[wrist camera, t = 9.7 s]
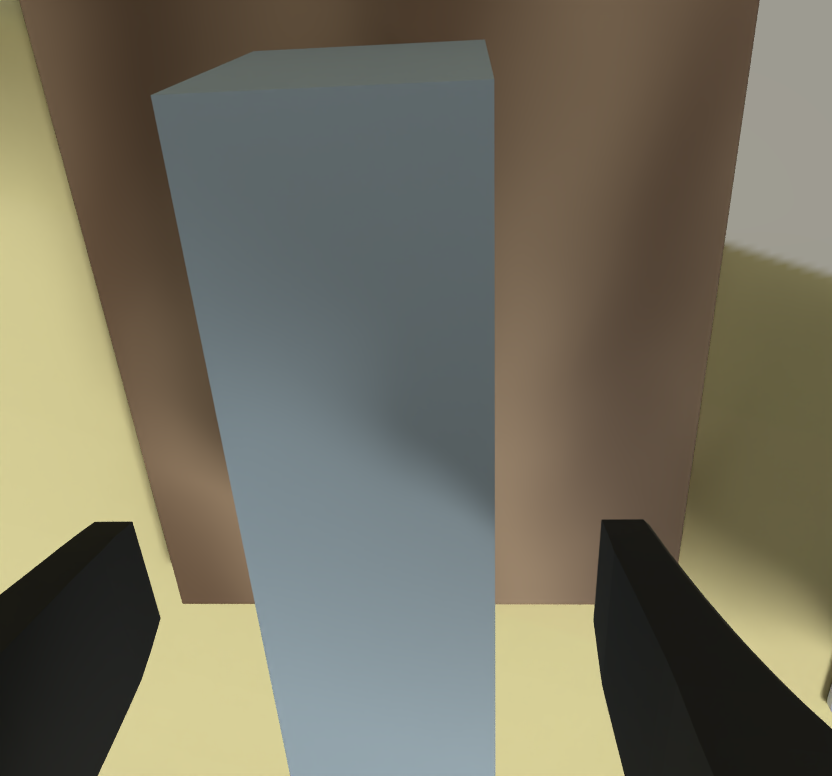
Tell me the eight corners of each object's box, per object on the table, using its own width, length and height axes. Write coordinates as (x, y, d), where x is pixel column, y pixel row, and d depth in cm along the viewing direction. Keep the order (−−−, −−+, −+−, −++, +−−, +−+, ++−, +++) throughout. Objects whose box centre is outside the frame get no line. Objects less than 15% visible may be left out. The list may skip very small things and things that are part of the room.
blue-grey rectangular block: (488, 633, 20) (495, 823, 15) (335, 632, 20) (299, 818, 16) (484, 39, 13) (494, 79, 9) (253, 51, 13) (150, 95, 9)
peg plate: (754, -107, 15) (845, -128, 12) (662, 576, 24) (698, 687, 20) (32, -60, 16) (-93, -65, 13) (194, 576, 25) (148, 682, 21)
